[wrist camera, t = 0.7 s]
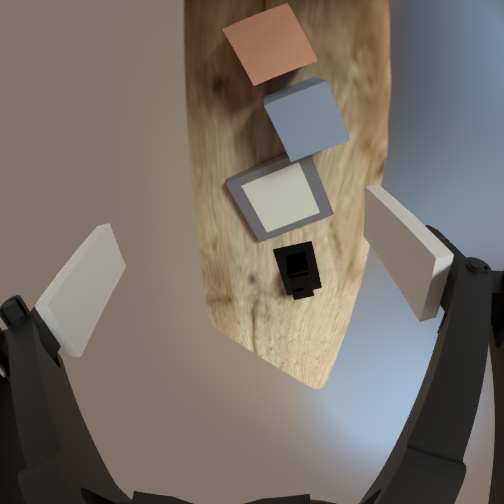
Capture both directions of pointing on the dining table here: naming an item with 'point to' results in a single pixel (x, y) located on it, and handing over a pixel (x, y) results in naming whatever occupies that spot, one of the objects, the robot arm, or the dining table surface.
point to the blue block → (306, 118)
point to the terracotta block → (270, 44)
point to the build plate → (298, 269)
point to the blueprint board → (280, 195)
